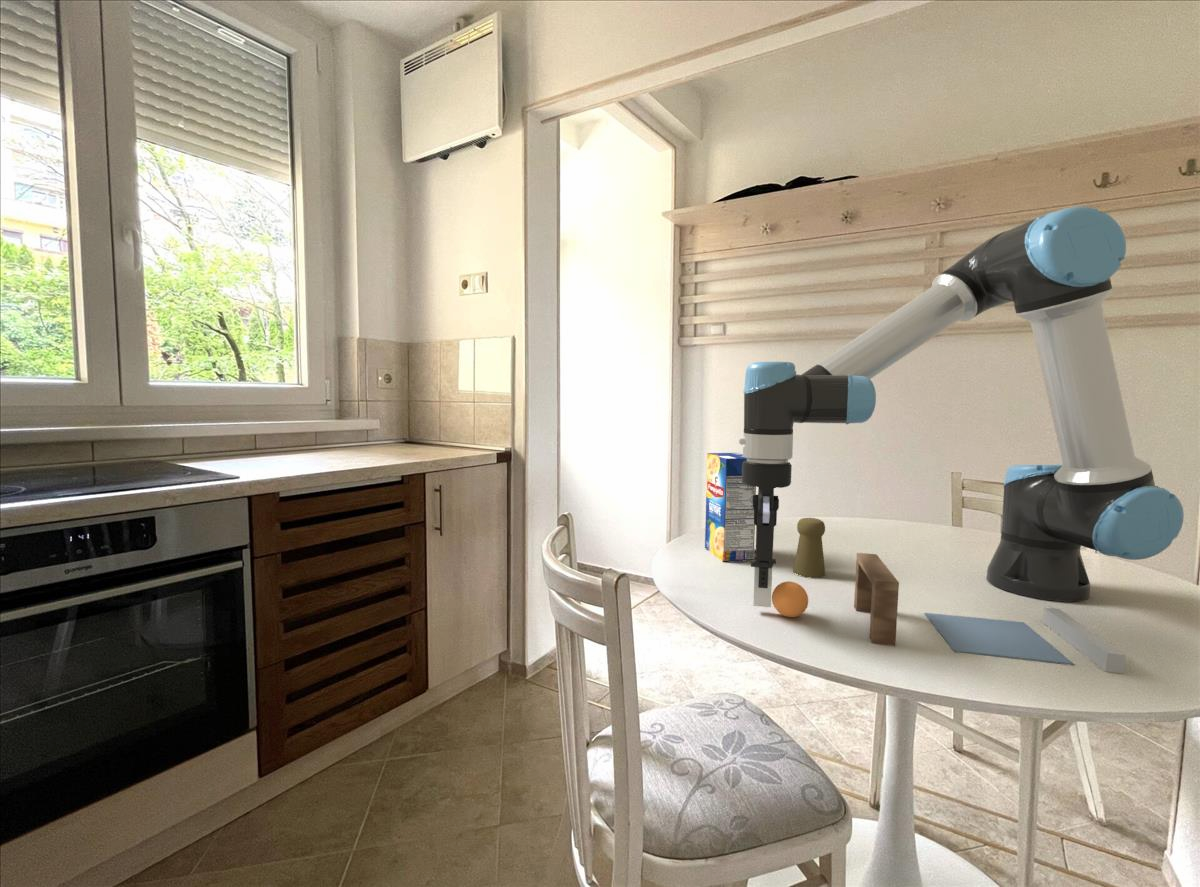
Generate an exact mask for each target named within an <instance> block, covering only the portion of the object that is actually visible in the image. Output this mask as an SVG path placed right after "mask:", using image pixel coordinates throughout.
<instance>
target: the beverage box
mask: <svg viewBox="0 0 1200 887" xmlns="http://www.w3.org/2000/svg"><path fill="white" fill-rule="evenodd" d="M706 454H707V456H706V486H705V487H706V490H705V491H706V493H705V497H706V498H705V523H704V524H705V527H704V529H705V531H704V532H705V534H704V549H705V548H706V549H705V550H707V551H708V552H709V551H710V552H711V554H712V555H713V554H714V555H715V556H714V555H713V556H714V557H716V556H717V557H718V558H719V559H718V558H717V557H716V558H717V559H718V560H720V559H721V560H722V561H737V562H744V561H743V560H754V561H755V557H754V556H755V534H756V531H755V530H756V525H755V524H754V508H753V495H757V486H748V485H745V484H744V483H743V482H742V463H743V462H744V461H745V460H747V458H745V457H744V456H743V453H738V452H708V453H706ZM710 552H709V553H710ZM721 560H720V561H721ZM722 561H721V562H722Z"/></svg>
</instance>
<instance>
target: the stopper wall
mask: <svg viewBox="0 0 1200 887" xmlns="http://www.w3.org/2000/svg"><path fill="white" fill-rule="evenodd" d="M1042 619H1043V620H1042V623H1043V624H1044V625H1045V626H1046V625H1047V626H1048V627H1047V626H1046V627H1047V628H1049V629H1050V628H1051V629H1052V630H1051V629H1050V630H1051V631H1052V632H1054V633H1055V632H1056V633H1057V634H1056V633H1055V634H1056V635H1058V634H1059V635H1060V636H1061V637H1060V636H1059V635H1058V636H1059V637H1060V638H1061V639H1063V638H1064V639H1065V640H1066V641H1065V640H1064V639H1063V640H1064V641H1065V642H1067V643H1068V642H1069V643H1070V644H1069V643H1068V644H1069V645H1071V646H1072V647H1073V646H1074V647H1075V648H1074V647H1073V648H1074V649H1076V650H1077V649H1078V650H1079V651H1078V650H1077V651H1078V652H1079V653H1081V654H1082V653H1083V654H1084V655H1083V654H1082V655H1083V656H1084V657H1086V656H1087V657H1088V658H1087V657H1086V658H1087V659H1089V660H1090V659H1091V660H1092V661H1093V662H1092V661H1091V660H1090V661H1091V662H1092V663H1094V662H1095V663H1096V664H1097V665H1096V664H1095V663H1094V664H1095V665H1096V666H1097V667H1099V666H1100V667H1101V668H1102V669H1101V668H1100V667H1099V668H1100V669H1101V670H1103V671H1104V672H1107V673H1114V674H1122V673H1123V674H1125V669H1126V668H1125V667H1126V656H1127V654H1125V653H1124V652H1122V651H1121V650H1120V649H1118V648H1116V647H1115V646H1114V645H1112V644H1111V643H1109V642H1108V641H1106V640H1105V639H1103V638H1102V637H1101V636H1099V635H1098V634H1096V633H1094V632H1093V631H1091V629H1089V628H1087V627H1086V626H1085V625H1083V624H1082V623H1081V622H1079V621H1077V620H1076V619H1074V617H1072V616H1070V615H1069V614H1068V613H1066V612H1065V611H1063V610H1062V609H1061V608H1051V607H1044V609H1043V618H1042Z"/></svg>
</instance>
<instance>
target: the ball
mask: <svg viewBox="0 0 1200 887" xmlns="http://www.w3.org/2000/svg"><path fill="white" fill-rule="evenodd" d="M771 603H772V604H773V607H774V609H775V610H776V611H777V612H778V613H780V614H781V615H782V616H784V617H787V618H796V617H799V616H801V615H802V614H803V613H805V612H806V610H807V608H808V605H809V595H808V593H807V591H806V590H805V588H804V587H803V586H802V585H800V584H799V583H797V582H794V581H783V582H780V583H779V584H778V585H776V586H775V587H774V589H773V592H772V593H771Z"/></svg>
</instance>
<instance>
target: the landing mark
mask: <svg viewBox="0 0 1200 887" xmlns="http://www.w3.org/2000/svg"><path fill="white" fill-rule="evenodd" d="M923 614H924V616H925V617H926V618H927V619H928V621H929V622H930V624H932V625H933V627H934V628H935V629H936V631H937V632H938V633H939V634H940V636H941V637H942V638H943V639H944V641H945V642H946V644H948V646H949V647H950V648H951V649H952V651H953V652H955V653H962V654H963V653H964V654H971V655H981V656H988V657H989V656H990V657H999V658H1008V659H1018V660H1024V661H1025V660H1026V661H1035V662H1043V663H1044V662H1045V663H1053V664H1061V663H1062V664H1063V665H1069V664H1071V665H1072V666H1075V665H1074V664H1075V663H1074V662H1073V661H1071V659H1070V658H1068V657H1066V656H1065V655H1064V654H1063V653H1061V651H1059V650H1058V649H1057V648H1056V647H1054V646H1053V645H1052V644H1051V643H1050V642H1048V641H1047V640H1046V639H1045V637H1042V635H1040V634H1039V633H1037V632H1036V631H1035V630H1034V629H1033V628H1032V627H1030V626H1029V625H1028V624H1027V623H1026V622H1024V621H1013V620H1005V619H1004V620H1003V619H994V618H993V619H992V618H985V617H984V618H982V617H971V616H964V615H963V616H962V615H951V614H942V613H933V612H924V613H923ZM1071 665H1070V666H1071Z"/></svg>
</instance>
